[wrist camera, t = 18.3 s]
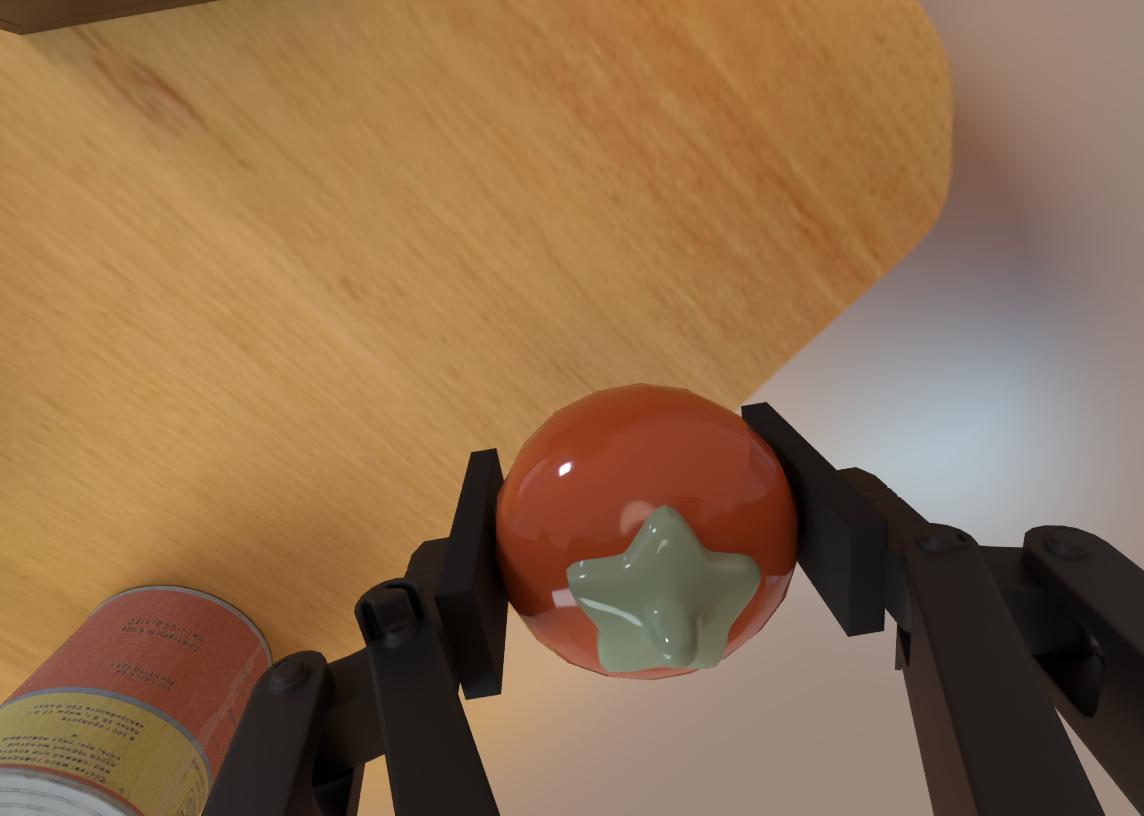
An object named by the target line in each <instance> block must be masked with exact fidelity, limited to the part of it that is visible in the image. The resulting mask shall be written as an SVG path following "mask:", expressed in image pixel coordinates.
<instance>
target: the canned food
mask: <svg viewBox="0 0 1144 816" xmlns="http://www.w3.org/2000/svg"><path fill="white" fill-rule="evenodd" d="M270 666H272V659H271V654H270V651H269V648H268V646H267V643H266V641H265V639H264V638H263V636H262V634H261V633H260V632H259V630H258V629H257V628H256V626H255V625H254V624H253V623H252V622H251V621H250V620H249V619H248V618H247V617H246V616H245V615H243V614H242V613H241V612H240V611H238V610H237V609H235V608H234V607H232V606H231V605H229V604H227V603H226V602H224V601H222V600H220V599H218V598H216V597H213V596H211V595H208V594H206V593H203V592H199V591H196V590H192V589H188V588H182V587H175V586H147V587H141V588H136V589H132V590H128V591H125V592H122V593H120V594H118V595H116V596H113V597H112V598H110V599H108V600H107V601H105V602H104V603H103V604H101V605H100V606H99V607H98V608H97V609H96V610H95V611H94V612H93V613H92V614H91V615H90V617H89V618H88V619H87V621H86V622H85V623H84V624H83V625H82V626H81V627H80V628H79V629H78V630H77V631H76V632H75V633H74V634H73V635H72V636H71V637H70V638H69V639H68V640H67V641H66V642H65V643H64V644H63V645H62V646H61V647H60V648H59V649H58V650H57V651H56V652H55V653H54V654H53V655H51V656H50V657H49V658H48V659H47V660H46V661H45V662H44V663H43V664H42V665H41V666H40V667H39V668H38V669H37V670H36V671H35V672H34V673H33V674H32V675H31V676H30V677H29V678H28V679H27V680H26V681H25V682H24V683H23V684H22V685H21V686H20V687H19V688H18V689H17V690H16V691H15V692H14V693H13V694H12V695H11V696H10V697H9V698H8V699H7V700H6V701H5V702H4V703H3V704H2V705H1V706H0V816H199V814H200V813H201V811H202V809H203V807H204V805H205V803H206V801H207V799H208V797H209V795H210V792H211V790H212V787H213V785H214V782H215V780H216V778H217V775H218V773H219V770H220V768H221V765H222V763H223V761H224V758H225V756H226V753H227V751H228V748H229V746H230V744H231V741H232V739H233V736H234V734H235V732H236V729H237V727H238V724H239V722H240V719H241V717H242V715H243V712H244V710H245V707H246V705H247V702H248V700H249V698H250V695H251V693H252V690H253V688H254V686H255V684H256V682H257V681H258V679H259V678H260V676H261V675H262V674H263V673H264V672H265V671H266V670H267V669H268V668H269V667H270Z"/></svg>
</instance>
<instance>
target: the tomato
mask: <svg viewBox="0 0 1144 816" xmlns="http://www.w3.org/2000/svg"><path fill="white" fill-rule="evenodd" d="M493 546H494V556H495V560H496V564H497V568H498V572H499V576H500V580H501V584H502V588H503V592H504V596H505V597H506V598H507V600H508V601H509V603H510V604H511V605H512V607H513V608H514V610H515V611H516V612H517V614H518V615H519V616H520V618H521V619H522V621H523V622H524V624H525V625H526V627H527V628H528V629H529V630H530V632H531V633H532V634H533V635H534V637H535V638H536V639H537V640H538V641H539V642H540V643H542V644H543V645H545V646H546V647H547V648H549V649H550V650H551V651H553V652H554V653H556V654H557V655H558V656H560V657H561V658H563V659H564V660H565V661H566V662H568V663H570V664H573V665H576V666H579V667H581V668H585V669H588V670H591V671H593V672H596V673H599V674H602V675H605V676H610V677H618V678H630V679H643V680H656V679H662V678H667V677H673V676H679V675H685V674H690V673H692V672H695V671H697V670H699V669H708V668H711V667H714V666H716V665H717V664H718V663H719V662H720V661H721V660H723V659H725V658H726V657H727V656H729V655H730V654H731V653H732V652H734V651H735V650H736V649H738V648H739V647H740V646H742V644H744V643H745V642H747V641H748V640H749V639H750V638H752V637H753V636H754V635H755V634H757V633H758V632H759V631H760V630H762V628H763V627H764V626H765V624H766V623H767V622H768V620H769V618H770V617H771V616H772V615H773V613H774V612H775V611H776V609H777V608H778V607H779V605H780V604H781V603H782V601H783V600H784V598H785V597H786V594H787V590H788V587H789V584H790V581H791V578H792V575H793V572H794V569H795V566H796V563H797V559H798V550H799V523H798V503H797V501H796V498H795V496H794V494H793V492H792V489H791V487H790V485H789V483H788V480H787V478H786V476H785V474H784V471H783V469H782V467H781V465H780V463H779V461H778V459H777V457H776V455H775V453H774V451H773V449H772V448H771V447H770V446H769V445H768V444H767V443H766V442H765V441H764V440H763V438H762V437H761V436H760V435H759V434H758V433H757V432H756V431H755V430H754V429H753V428H752V427H751V426H750V425H749V424H748V423H747V422H746V421H745V420H744V419H743V418H742V417H741V416H739V415H737V414H736V413H734V412H732V411H731V410H729V409H727V408H726V407H724V406H722V405H719V404H717V403H715V402H713V401H711V400H709V399H707V398H704V397H702V396H700V395H698V394H696V393H694V392H692V391H690V390H687V389H683V388H675V387H667V386H659V385H652V384H644V383H639V384H632V385H627V386H621V387H616V388H610V389H605V390H599V391H596V392H594V393H592V394H590V395H588V396H586V397H584V398H582V399H580V400H578V401H576V402H574V403H572V404H570V405H568V406H566V407H564V408H562V409H560V410H558V411H556V412H555V413H554V414H553V415H551V416H550V417H549V418H548V419H547V420H546V421H545V422H544V423H543V424H542V425H541V426H540V427H539V428H538V429H537V430H536V431H535V432H534V433H533V434H532V435H531V436H530V437H529V438H528V439H527V440H526V441H525V442H524V444H523V446H522V448H521V450H520V451H519V453H518V455H517V457H516V459H515V461H514V463H513V465H512V467H511V469H510V471H509V473H508V475H507V477H506V479H505V481H504V483H503V485H502V487H501V489H500V492H499V494H498V496H497V503H496V512H495V521H494V530H493Z"/></svg>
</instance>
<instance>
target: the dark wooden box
mask: <svg viewBox="0 0 1144 816" xmlns="http://www.w3.org/2000/svg"><path fill="white" fill-rule="evenodd" d="M211 1H217V0H0V29H1V30H5V31H8V32H12V33H15V34H19V35H23V34H29V33H35V32H40V31H46V30H52V29H58V28H63V27H69V26H75V25H80V24H86V23H92V22H97V21H103V20H109V19H114V18H120V17H126V16H131V15H137V14H143V13H148V12H154V11H160V10H165V9H171V8H177V7H182V6H188V5H194V4H199V3H205V2H211Z"/></svg>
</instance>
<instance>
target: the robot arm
mask: <svg viewBox="0 0 1144 816" xmlns="http://www.w3.org/2000/svg"><path fill="white" fill-rule="evenodd" d="M741 410H742V418H743V419H744V420H745V421H746V422H747V423H748V424H749V425H750V426H751V427H752V428H753V429H754V430H755V431H756V432H757V433H758V434H759V435H760V436H761V437H762V438H763V440H764V441H765V442H766V443H767V444H768V445H769V446H770V447H771V448H772V449H773V451H774V453H775V455H776V457H777V459H778V461H779V463H780V465H781V467H782V469H783V471H784V474H785V476H786V478H787V480H788V483H789V485H790V487H791V489H792V492H793V494H794V496H795V498H796V501H797V503H798V523H799V550H798V559H797V562H798V563H799V565H800V566H801V568H802V569H803V571H804V572H805V574H806V575H807V577H808V578H809V580H810V581H811V582H812V584H813V586H814V587H815V588H816V590H817V591H818V593H819V594H820V596H821V597H822V599H823V600H824V602H825V603H826V605H827V606H828V608H829V609H830V610H831V612H832V614H833V615H834V616H835V618H836V620H837V621H838V622H839V624H840V625H841V627H842V628H843V630H844V631H845V633H846V634H847V636H848V637H850V636H856V635H862V634H868V633H874V632H880V631H884V620H885V609H886V610H887V611H888V612H889V613H890V615H891V616H892V617H893V618H894V620H895V621H896V622H897V639H896V660H895V670H901V668H902V669H903V674H904V679H905V684H906V688H907V692H908V697H909V702H910V707H911V711H912V716H913V720H914V725H915V730H916V734H917V739H918V744H919V749H920V753H921V758H922V763H923V767H924V772H925V776H926V781H927V786H928V790H929V795H930V799H931V804H932V809H933V814H934V816H1105V814H1104V811H1103V810H1102V807H1101V805H1100V803H1099V801H1098V799H1097V797H1096V794H1095V792H1094V790H1093V788H1092V786H1091V784H1090V782H1089V779H1088V778H1087V775H1086V773H1085V771H1084V769H1083V767H1082V765H1081V763H1080V760H1079V758H1078V756H1077V754H1076V752H1075V750H1074V748H1073V746H1072V744H1071V741H1070V739H1069V737H1068V735H1067V733H1066V730H1065V728H1064V726H1063V724H1062V722H1061V720H1060V718H1059V716H1058V714H1057V711H1056V709H1057V710H1058V711H1059V713H1060V714H1061V715H1062V716H1063V718H1064V719H1065V720H1066V722H1067V723H1068V724H1069V725H1070V727H1071V728H1072V729H1073V730H1074V732H1075V733H1076V734H1077V735H1078V737H1079V738H1080V739H1081V740H1082V741H1083V743H1084V744H1085V745H1086V747H1087V748H1088V749H1089V751H1090V752H1091V753H1092V754H1093V756H1094V757H1095V758H1096V759H1097V760H1098V762H1099V763H1100V764H1101V766H1102V767H1103V768H1104V769H1105V771H1106V772H1107V773H1108V774H1109V776H1110V777H1111V778H1112V779H1113V781H1114V782H1115V783H1116V785H1117V786H1118V787H1119V788H1120V790H1121V791H1122V792H1123V793H1124V795H1125V796H1126V797H1127V798H1128V800H1129V801H1130V802H1131V803H1132V805H1133V806H1134V807H1135V808H1136V810H1137V811H1138V812H1139V814H1140V815H1141V816H1144V570H1142V569H1141V568H1140V567H1138V566H1137V565H1136V564H1135V563H1133V562H1132V561H1131V560H1129V559H1128V558H1127V557H1126V556H1124V555H1123V554H1122V553H1121V552H1119V551H1118V550H1117V549H1115V548H1114V547H1113V546H1112V545H1110V544H1109V543H1108V542H1106V541H1104V540H1103V539H1101V538H1099V537H1098V536H1096V535H1094V534H1091V533H1088V532H1086V531H1083V530H1080V529H1077V528H1073V527H1067V526H1049V525H1044V526H1040V527H1035V528H1032V529H1030V530H1029V531H1027V532H1026V533H1025V537H1024V543H1023V548H1021V547H993V546H980V545H978V543H977V542H976V541H975V540H974V538H973V537H972V536H971V535H969V534H967V533H966V532H964V531H962V530H960V529H958V528H954V527H951V526H948V525H943V524H936V523H929V522H928V521H926V520H925V519H924V518H923V517H922V516H921V515H920V514H919V513H917V512H916V511H915V510H914V509H913V508H912V507H911V506H909V505H908V504H907V503H906V502H905V501H904V500H903V499H901V498H900V497H898V496H897V494H896V493H895V492H893V491H892V490H891V489H890V488H887V485H885V484H884V483H883V482H882V481H881V480H880V479H879V478H877V477H876V476H875V475H873V474H871V473H868V472H866V471H864V470H861V469H859V468H857V467H854V468H847V469H841V470H836V469H835V468H834V467H833V466H832V465H831V464H830V463H829V462H828V461H827V460H826V459H825V458H824V457H823V456H822V455H820V453H819V452H818V451H816V450H815V449H814V448H813V447H812V446H811V445H810V444H809V443H808V442H807V441H806V440H805V439H804V438H803V437H802V436H801V435H800V434H799V433H798V432H797V431H796V430H795V429H794V428H793V427H792V426H791V425H790V424H788V422H787V421H785V420H784V419H783V418H782V417H781V416H780V415H779V414H778V413H777V412H776V411H775V410H774V409H773V408H772V407H771V406H770V405H769V404H768V403H767V402H763V403H758V404H752V405H746V406H741ZM503 483H504V479H503V475H502V471H501V467H500V462H499V458H498V454H497V449H496V448H494V449H488V450H482V451H476V452H471V455H470V459H469V463H468V467H467V471H466V475H465V478H464V482H463V486H462V490H461V494H460V498H459V502H458V505H457V509H456V513H455V517H454V521H453V525H452V529H451V532H450V536H449V537H447V538H442V539H436V540H430V541H424V542H423V543H422V544H421V545H420V546H419V548H418V549H417V550H416V551H415V552H414V553H413V554H412V556H411V559H410V562H409V565H408V567H407V571H406V573H405V576H404V578H395V579H392V580H388V581H384V582H382V583H380V584H378V585H376V586H374V587H372V588H371V589H370V590H368V591H367V592H366V593H365V594H363V595H362V596H361V598H360V599H359V601H358V602H357V603H356V606H355V612H354V613H355V616H356V619H357V621H358V624H359V627H360V630H361V632H362V635H363V638H364V640H365V643H366V646H367V647H365V648H363V649H362V650H360V651H358V652H356V653H354V654H352V655H349V656H347V657H344V658H342V659H339V660H337V661H334V662H332V663H329V664H327V661H326V659H325V657H324V656H323V655H322V654H321V653H320V652H316V651H312V650H309V651H301V652H297V653H294V654H292V655H289V656H286V657H284V658H283V659H281V660H279V661H278V662H276V663H275V664H273V665H272V666H270V667H269V668H268V669H267V670H266V671H265V672H264V673H263V674H262V675H261V676H260V678H259V679H258V681H257V682H256V684H255V686H254V688H253V690H252V693H251V695H250V698H249V700H248V702H247V705H246V707H245V710H244V712H243V715H242V717H241V719H240V722H239V724H238V727H237V729H236V732H235V734H234V736H233V739H232V741H231V744H230V746H229V748H228V751H227V753H226V756H225V758H224V761H223V763H222V765H221V768H220V770H219V773H218V775H217V778H216V780H215V782H214V785H213V787H212V790H211V792H210V795H209V797H208V799H207V802H206V804H205V807H204V809H203V812H202V814H201V816H357V812H358V805H359V799H360V792H361V787H362V780H363V774H364V767H365V763H366V762H368V761H371V760H373V759H375V758H377V757H379V756H381V755H384V754H385V758H386V764H387V770H388V776H389V782H390V788H391V794H392V800H393V806H394V811H395V816H500V813H499V811H498V808H497V805H496V802H495V799H494V796H493V794H492V790H491V788H490V785H489V782H488V779H487V776H486V773H485V770H484V768H483V765H482V762H481V759H480V756H479V753H478V751H477V747H476V744H475V741H474V739H473V736H472V733H471V730H470V727H469V724H468V721H467V719H466V716H465V713H464V710H463V707H462V704H461V701H460V698H459V695H458V691H459V685H460V683H461V686H462V689H463V693H464V696H465V699H466V700H469V699H475V698H481V697H487V696H493V695H499V694H501V689H502V688H501V687H502V676H503V663H504V650H505V638H506V624H507V612H508V600H507V598H506V597H505V596H504V592H503V588H502V584H501V580H500V576H499V572H498V568H497V564H496V560H495V556H494V546H493V530H494V521H495V512H496V503H497V496H498V494H499V492H500V489H501V487H502V485H503ZM1054 706H1055V707H1056V709H1055V707H1054Z"/></svg>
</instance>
